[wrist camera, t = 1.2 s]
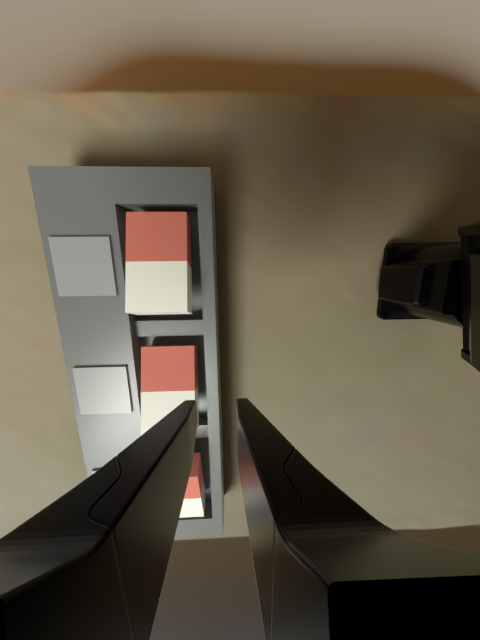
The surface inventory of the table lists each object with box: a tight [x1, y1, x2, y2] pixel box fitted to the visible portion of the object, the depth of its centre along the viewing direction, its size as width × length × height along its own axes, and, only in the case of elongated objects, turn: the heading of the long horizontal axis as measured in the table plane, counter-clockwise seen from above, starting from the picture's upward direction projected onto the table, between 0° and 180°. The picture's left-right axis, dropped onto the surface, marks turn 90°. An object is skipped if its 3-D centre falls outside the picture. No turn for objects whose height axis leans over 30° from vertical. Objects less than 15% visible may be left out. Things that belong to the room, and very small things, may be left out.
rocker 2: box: [141, 345, 199, 435], centre depth 17 cm, size 4×6×2 cm, turn 0°
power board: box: [28, 166, 224, 539], centre depth 19 cm, size 11×30×4 cm, turn 1°
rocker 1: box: [125, 212, 192, 315], centre depth 15 cm, size 4×6×2 cm, turn 1°
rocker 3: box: [179, 453, 206, 518], centre depth 19 cm, size 4×6×2 cm, turn 1°
